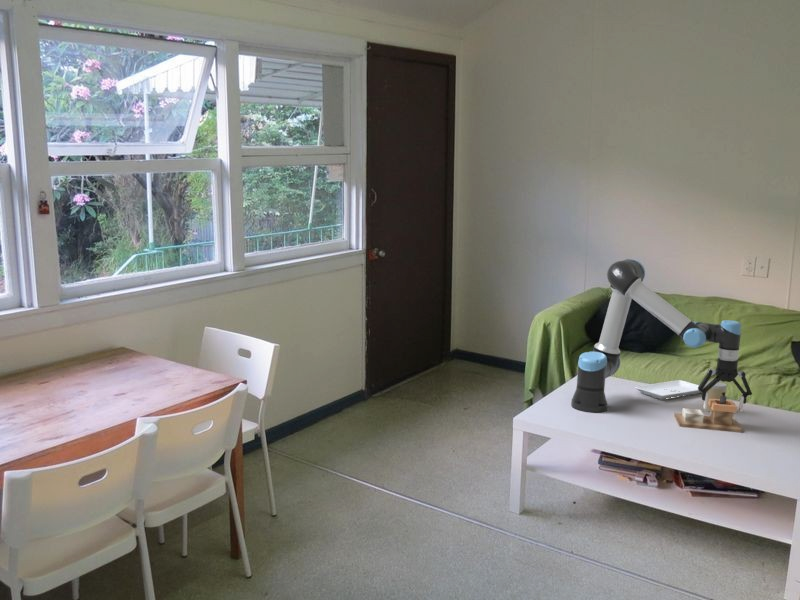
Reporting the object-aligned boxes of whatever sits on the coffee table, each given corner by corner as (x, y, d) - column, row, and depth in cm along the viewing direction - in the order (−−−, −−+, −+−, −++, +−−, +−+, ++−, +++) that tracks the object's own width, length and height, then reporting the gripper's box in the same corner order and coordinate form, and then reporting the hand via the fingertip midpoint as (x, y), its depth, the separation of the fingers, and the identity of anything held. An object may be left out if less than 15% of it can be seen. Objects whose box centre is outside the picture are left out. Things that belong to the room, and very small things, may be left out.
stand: (679, 426, 297) (682, 397, 295) (674, 415, 310) (676, 387, 308) (742, 432, 292) (746, 403, 290) (734, 421, 305) (737, 393, 303)
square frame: (712, 410, 295) (713, 404, 295) (708, 403, 304) (708, 398, 304) (736, 412, 294) (737, 406, 293) (731, 406, 302) (732, 400, 302)
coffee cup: (726, 414, 315) (729, 387, 313) (703, 412, 317) (706, 385, 315) (721, 407, 324) (724, 381, 322) (698, 405, 326) (701, 379, 324)
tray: (633, 393, 343) (633, 385, 342) (679, 385, 358) (679, 378, 358) (661, 403, 328) (662, 395, 328) (708, 395, 344) (709, 388, 343)
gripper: (696, 358, 294) (692, 409, 298) (763, 363, 289) (758, 415, 293) (693, 354, 301) (688, 404, 305) (758, 359, 297) (753, 409, 300)
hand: (722, 409), depth 299 cm, fingers open, 13 cm apart
